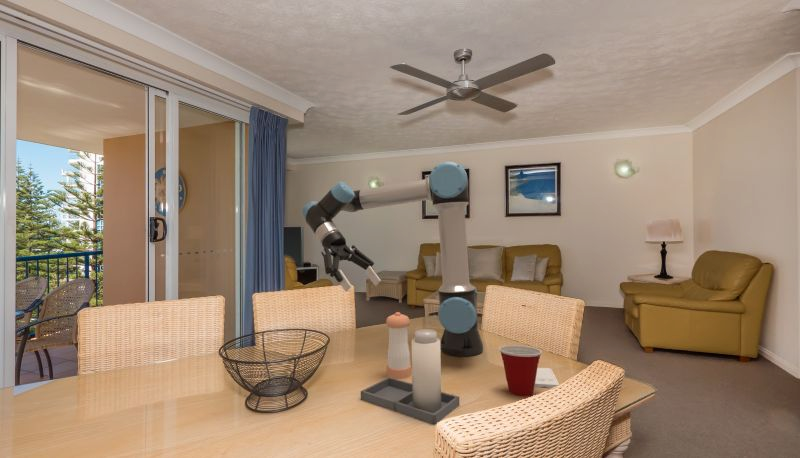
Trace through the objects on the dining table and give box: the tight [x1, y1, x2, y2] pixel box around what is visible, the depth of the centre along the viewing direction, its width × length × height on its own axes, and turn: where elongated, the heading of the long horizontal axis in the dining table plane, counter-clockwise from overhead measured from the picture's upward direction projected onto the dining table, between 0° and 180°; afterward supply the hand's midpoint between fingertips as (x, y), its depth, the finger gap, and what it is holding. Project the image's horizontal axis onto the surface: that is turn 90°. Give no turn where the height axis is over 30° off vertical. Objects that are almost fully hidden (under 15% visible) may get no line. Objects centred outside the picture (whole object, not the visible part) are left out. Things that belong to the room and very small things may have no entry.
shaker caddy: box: [360, 377, 460, 426], centre depth 93 cm, size 11×22×3 cm, turn 53°
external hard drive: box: [534, 367, 560, 389], centre depth 109 cm, size 2×8×12 cm
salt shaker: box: [411, 328, 442, 414], centre depth 90 cm, size 7×7×18 cm
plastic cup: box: [498, 344, 543, 397], centre depth 99 cm, size 11×11×12 cm
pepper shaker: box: [385, 311, 412, 380], centre depth 112 cm, size 7×7×19 cm
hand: (364, 286), depth 120 cm, fingers open, 13 cm apart
